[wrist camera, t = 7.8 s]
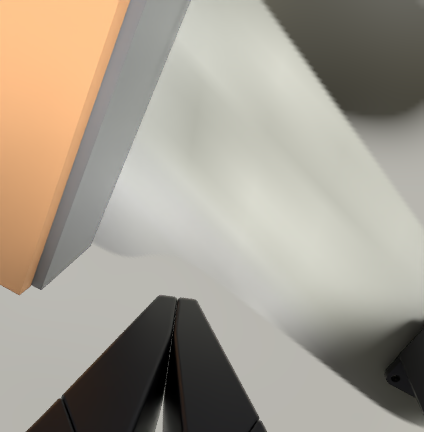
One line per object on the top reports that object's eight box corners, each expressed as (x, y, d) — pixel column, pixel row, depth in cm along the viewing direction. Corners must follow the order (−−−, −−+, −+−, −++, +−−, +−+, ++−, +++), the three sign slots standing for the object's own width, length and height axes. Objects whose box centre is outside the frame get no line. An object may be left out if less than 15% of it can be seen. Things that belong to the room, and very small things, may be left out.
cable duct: (207, -41, 16) (178, -86, 12) (90, 246, 23) (41, 290, 18) (32, -136, 16) (-67, -221, 12) (-38, 178, 22) (-121, 204, 18)
